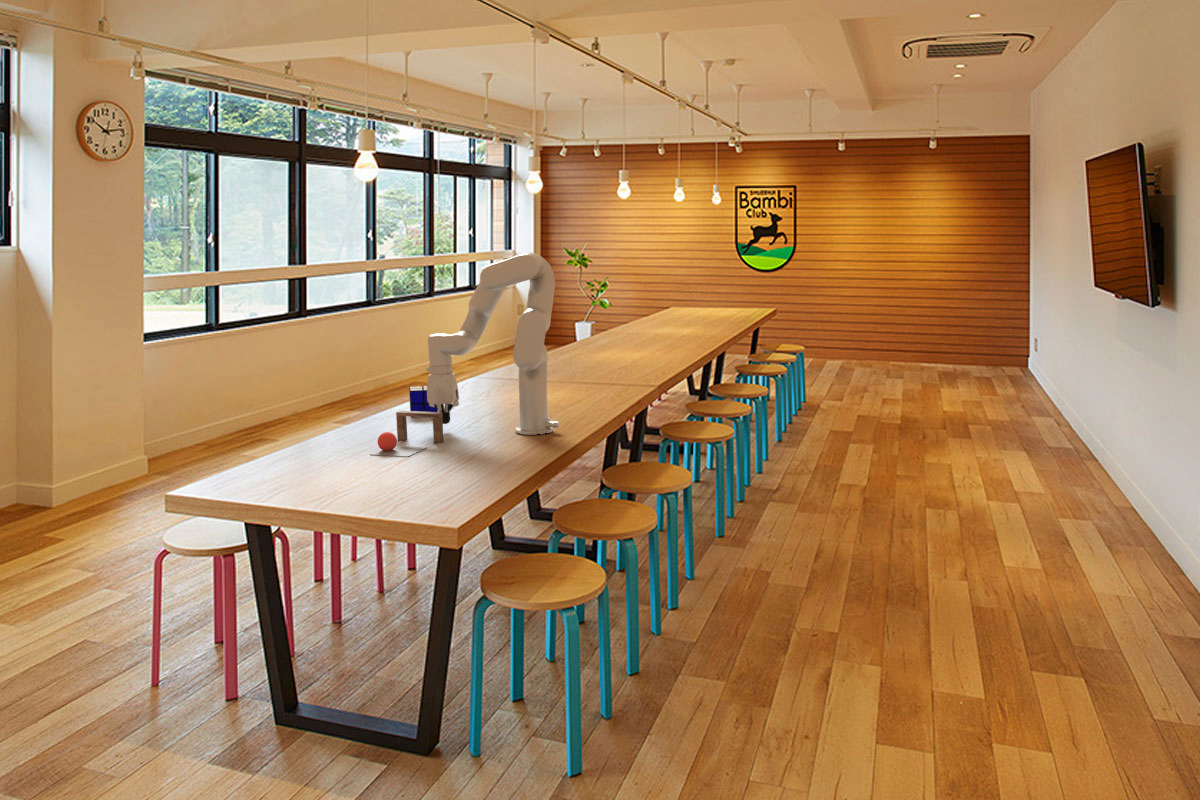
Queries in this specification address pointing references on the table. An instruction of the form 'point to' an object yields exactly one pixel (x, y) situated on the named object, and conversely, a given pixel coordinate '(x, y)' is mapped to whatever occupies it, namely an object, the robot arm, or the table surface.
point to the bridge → (402, 416)
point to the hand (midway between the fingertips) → (445, 423)
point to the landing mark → (399, 451)
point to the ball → (387, 441)
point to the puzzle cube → (420, 400)
